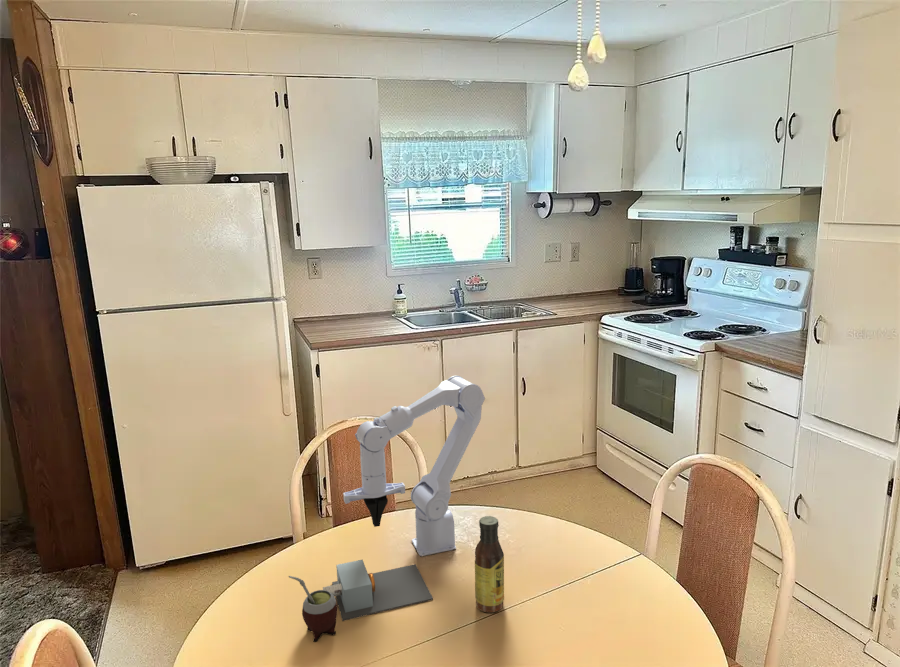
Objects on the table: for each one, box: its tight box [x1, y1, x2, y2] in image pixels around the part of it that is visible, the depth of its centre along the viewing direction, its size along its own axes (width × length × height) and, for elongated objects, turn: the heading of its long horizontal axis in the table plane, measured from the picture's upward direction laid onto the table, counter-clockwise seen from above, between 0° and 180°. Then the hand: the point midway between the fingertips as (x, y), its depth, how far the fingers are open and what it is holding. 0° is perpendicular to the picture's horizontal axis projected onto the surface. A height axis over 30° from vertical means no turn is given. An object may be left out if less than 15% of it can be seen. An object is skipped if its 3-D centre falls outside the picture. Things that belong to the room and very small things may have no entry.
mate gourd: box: [288, 575, 339, 643], centre depth 128 cm, size 8×8×15 cm
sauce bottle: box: [474, 515, 505, 614], centre depth 135 cm, size 6×6×20 cm
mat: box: [331, 564, 434, 622], centre depth 143 cm, size 20×14×1 cm
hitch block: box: [335, 559, 373, 613], centre depth 140 cm, size 6×10×6 cm, turn 19°
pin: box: [322, 572, 375, 598], centre depth 140 cm, size 11×4×4 cm, turn 109°
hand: (376, 524), depth 152 cm, fingers closed
